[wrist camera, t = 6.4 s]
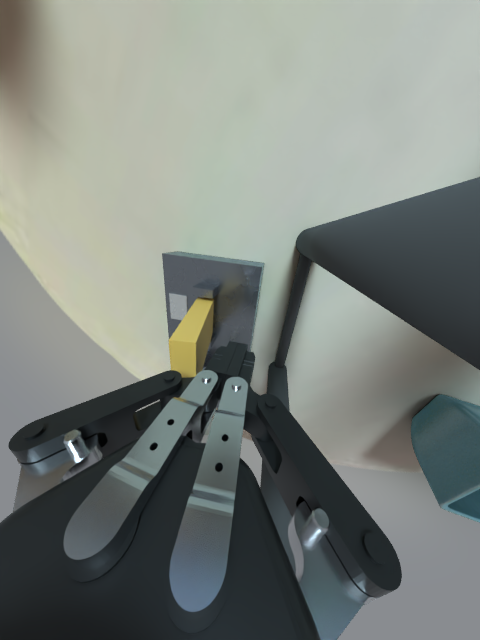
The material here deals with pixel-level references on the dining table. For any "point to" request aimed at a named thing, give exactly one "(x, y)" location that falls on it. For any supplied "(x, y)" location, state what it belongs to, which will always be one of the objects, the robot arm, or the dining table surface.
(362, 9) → the dining table surface
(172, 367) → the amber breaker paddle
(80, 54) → the dining table surface
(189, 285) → the strip
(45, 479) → the robot arm
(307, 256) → the cable posts
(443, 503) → the flower pot
